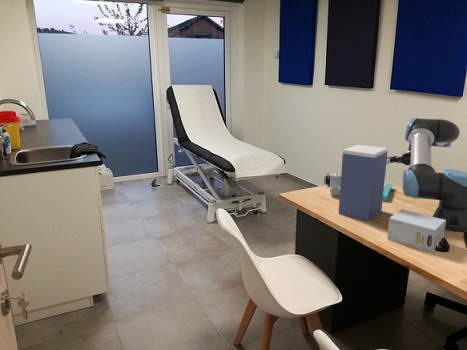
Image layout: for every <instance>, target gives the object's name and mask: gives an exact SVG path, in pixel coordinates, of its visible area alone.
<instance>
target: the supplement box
mask: <svg viewBox="0 0 467 350" xmlns="http://www.w3.org/2000/svg"><path fill="white" fill-rule="evenodd" d="M388 220H389V221H388V228H387V238H386V239H387V240H389V241H393V242H396V243H398V244H402V245H405V246H409V247H413V248H416V249H420V250H423V251H426V252H429V253H434V252H435V250H436V249H437V248H436V246H437V244H438V243H439V242H440V241H441V239H442V238H443V239H444V235H445V230H446V229H445V224H446V220H444V219H440V218H436V217H433V216H431V215H427V214H422V213H418V212H414V211H410V210H407V209H402V208H401V209H400V210H399V211H397V212H396V213H395V214H392V215H391V216H390V217H389V219H388ZM435 248H436V249H435Z"/></svg>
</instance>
